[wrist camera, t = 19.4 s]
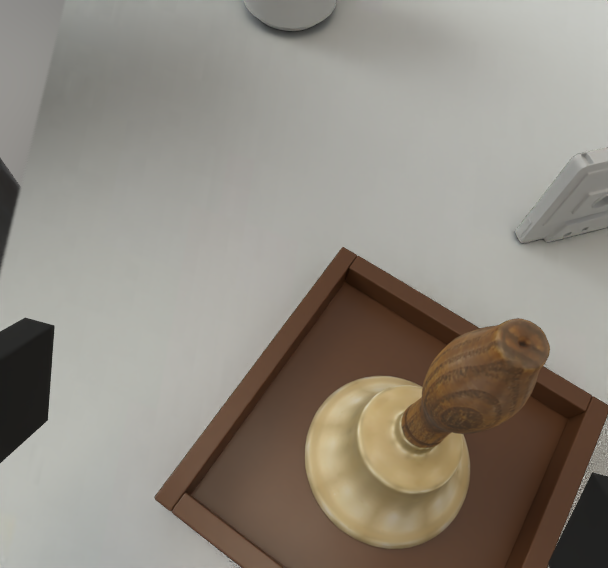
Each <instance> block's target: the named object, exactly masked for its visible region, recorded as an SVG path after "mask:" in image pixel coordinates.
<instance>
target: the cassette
mask: <svg viewBox="0 0 608 568" xmlns="http://www.w3.org/2000/svg"><path fill="white" fill-rule="evenodd" d="M607 227H608V147H606V148H602V149H597V150H593V151H588V152H583V153H578V154H576V155H575V156H573V157H572V158H571V159H570V161H569V162H568V163H567V165H566V166H565V167H564V168H563V170H562V171H561V172H560V174H559V175H558V176H557V177H556V179H555V180H554V181H553V183H552V184H551V185H550V187H549V188H548V189H547V190H546V192H545V193H544V194H543V196H542V197H541V198H540V199H539V201H538V202H537V203H536V205H535V206H534V207H533V208H532V210H531V211H530V212H529V214H528V215H527V216H526V217H525V219H524V220H523V221H522V223H521V224H520V225H519V227H518V228H517V229H516V230H515V233H516V236H517V237H518V239H519V240H520V242H521V243H527V242H531V241H535V240H539V239H544V240H545V241H546V242H551V241H555V240H559V239H563V238H567V237H571V236H575V235H579V234H583V233H587V232H591V231H595V230H599V229H603V228H607Z"/></svg>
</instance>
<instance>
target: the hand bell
mask: <svg viewBox="0 0 608 568" xmlns="http://www.w3.org/2000/svg"><path fill="white" fill-rule="evenodd" d="M549 351H550V346H549V343H548V340H547V338H546V336H545V334H544V332H543V331H542V330H541V328H539V327H538V326H537V325H535V324H534V323H532V322H531V321H528V320H524V319H519V318H518V319H511V320H508V321H506V322H504V323H502V324H500V325H497V326H490V327H484V328H480V329H476V330H473V331H470V332H467V333H464V334H463V335H461V336H459V337H457V338H455V339H454V340H453V341H451V342H450V343H449V344H448V345H447V346H446V347H445V348H444V349H443V350H442V351H441V352H440V353H439V354H438V355H437V357H436V358H435V359H434V361H433V362H432V364H431V366H430V367H429V369H428V372H427V374H426V377H425V380H424V383H423V387H422V386H420V385H418V384H416V383H413V382H411V381H408V380H405V379H401V378H397V377H392V376H371V377H365V378H361V379H357V380H355V381H352V382H350V383H347V384H345V385H343V386H342V387H340V388H339V389H337V390H336V391H335V392H333V393H332V394H331V395H330V396H329V397H328V398H327V399H326V400H325V401H324V402H323V404H322V405H321V406H320V408H319V409H318V411H317V412H316V414H315V416H314V418H313V420H312V422H311V425H310V427H309V430H308V434H307V438H306V445H305V468H306V473H307V478H308V481H309V484H310V487H311V490H312V493H313V495H314V497H315V499H316V501H317V502H318V504H319V506H320V508H321V509H322V510H323V512H324V513H325V515H326V516H327V517H328V518H329V519H330V520H331V521H332V522H333V523H334V524H335V525H336V526H337V527H338V528H339V529H340V530H341V531H343V532H344V533H346V534H347V535H349V536H351V537H352V538H354V539H356V540H358V541H360V542H363V543H365V544H368V545H371V546H374V547H379V548H386V549H403V548H410V547H413V546H417V545H420V544H423V543H425V542H427V541H429V540H431V539H432V538H434V537H436V536H437V535H439V534H440V533H441V532H442V531H444V530H445V529H446V528H447V527H448V526H449V525H450V523H451V522H452V521H453V520H454V518H455V517H456V516H457V514H458V513H459V511H460V509H461V507H462V505H463V503H464V500H465V498H466V494H467V491H468V487H469V481H470V458H469V452H468V447H467V443H466V440H465V437H464V435H463V434H471V433H478V432H482V431H485V430H488V429H491V428H493V427H495V426H498V425H500V424H501V423H503V422H505V421H507V420H508V419H510V418H511V417H512V416H514V415H515V414H516V413H517V412H518V411H519V410H520V409H521V408H522V407H523V406H524V405H525V403H526V402H527V400H528V398H529V397H530V395H531V394H532V391H533V389H534V386H535V384H536V381H537V378H538V374H539V371H540V369H541V368H542V367H543V365H544V364H545V362H546V360H547V358H548V356H549Z"/></svg>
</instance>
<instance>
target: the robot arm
mask: <svg viewBox="0 0 608 568" xmlns="http://www.w3.org/2000/svg"><path fill="white" fill-rule="evenodd" d="M53 339H54V325H50V324H46V323H43V322H39V321H35V320H32V319H28V318H24V319H22V320H20V321H18V322H17V323H15V324H13V325H11V326H9V327H8V328H6V329H4V330H2V331H1V332H0V463H1V462H2V461H3V460H4V459H5V458H6V457H8V456H9V455H10V454H11V453H12V452H13V451H14V450H15V449H16V448H18V447H19V446H20V445H21V444H22V443H23V442H24V441H25V440H26V439H27V438H29V437H30V436H31V435H32V434H33V433H34V432H35V431H36V430H37V429H39V428H40V427H41V426H42V425H43V424H44V423H45V422H46V421H47V420H48V409H49V395H50V381H51V367H52V353H53ZM548 564H549V567H550V568H608V477H607V476H604V475H600V474H596V473H593V472H592V474H591V476H590V478H589V480H588V482H587V484H586V486H585V489H584V491H583V493H582V495H581V497H580V499H579V501H578V503H577V505H576V507H575V509H574V511H573V513H572V515H571V517H570V519H569V521H568V523H567V525H566V527H565V529H564V531H563V533H562V535H561V537H560V539H559V542H558V544H557V546H556V548H555V550H554V552H553V554H552V556H551V558H550V560H549V562H548Z"/></svg>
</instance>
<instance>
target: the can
mask: <svg viewBox="0 0 608 568" xmlns="http://www.w3.org/2000/svg"><path fill="white" fill-rule="evenodd" d="M244 4H245V6H246V7H247V9H248V10H249V11H250V12H251V14H252V15H254V16H255V17H257V18H258V19H260V21H262V22H263V23H265V24H266V25H268V26H270V27H273V28H276V29H279V30H285V31H298V30H304V29H307V28H310V27H313V26H314V25H316V24H317V23H319V22H321V21H323V20H324V19H325V18H327V17H328V16H329V15H330V14H331V13H332V11H333V10H334V8H335V6H336V0H244Z"/></svg>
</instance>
